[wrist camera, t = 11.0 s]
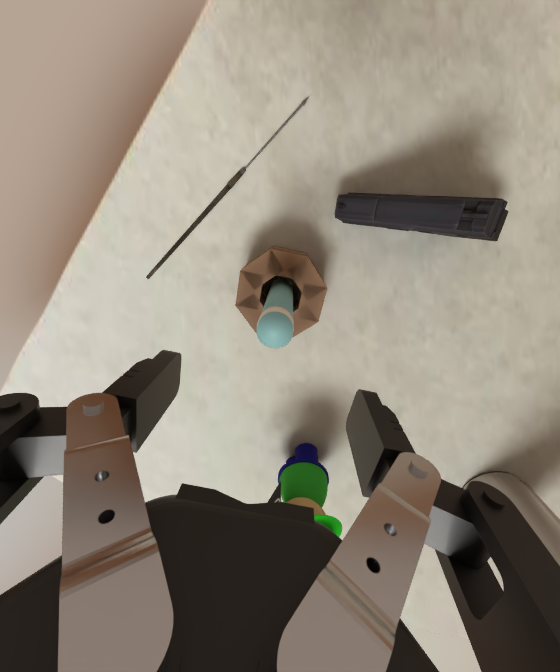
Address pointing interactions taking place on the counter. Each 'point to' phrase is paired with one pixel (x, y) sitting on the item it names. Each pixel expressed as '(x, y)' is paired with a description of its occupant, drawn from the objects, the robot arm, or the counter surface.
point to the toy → (305, 485)
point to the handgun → (425, 214)
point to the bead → (285, 266)
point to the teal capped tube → (277, 315)
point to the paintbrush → (215, 201)
